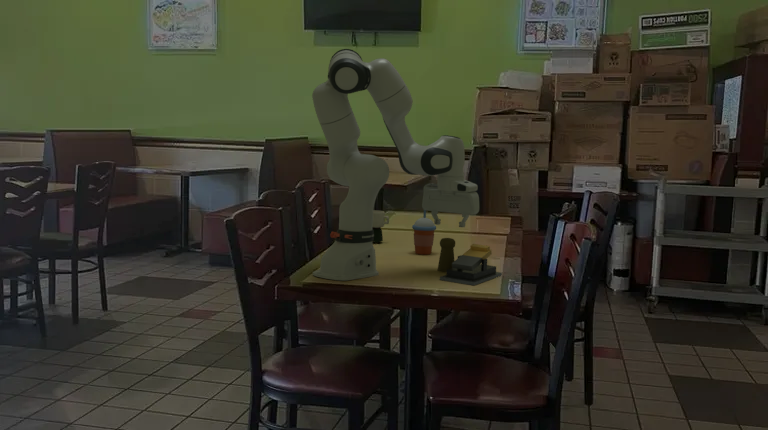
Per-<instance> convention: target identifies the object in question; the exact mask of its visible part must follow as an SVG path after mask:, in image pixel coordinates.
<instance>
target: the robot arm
mask: <svg viewBox="0 0 768 430" xmlns="http://www.w3.org/2000/svg"><path fill="white" fill-rule="evenodd" d="M365 90H367V92H368V93H369V94H370V96H371V98H372V99H373V102H374V103H375V105H376V107H377V108H378V110H379V112H380V114H381V117H382V120H383V122H384V125H385V128H386V130H387V131H388V133H389V136H390V138H391V139H392V142H393V144H394V146H395V148H396V151H397V155H398V161H399V165H400V167H401V169H402V170H403V172H405V173H407V174H408V175H411V176H412V175H421V176H431V177H433V176H437V183H431V182H428V183H426V184H425V185H424V186H423V189H422V190H423V196H422V201H421V203H422V204H421V208H422V210H423V211H424V210H426V211H429V212H431V216H432V218H433V223H434V225H435V226H436V225H438V226H440V225H441V223H442V222H441V218H439V216H438V214H439V212H440V213H441V212H442V213H451V214H459V215H460V214H461V217H462V220H461V221H459V222H458V224H459V225H458V227H459V228H465V227H466V223H467V220H468V218H469V217H470V215H472V216H474V215H477V214H478V213H479V212H480V197H479V194H478V192H477V191H478V190H479V189H478V187H479V186H478V184H477V183H474V182H472V181H469V180H467V179H465V173H464V166H465V159H466V158H465V156H466V154H465V143H464V141H463V139H462V138H461V137H458V136H453V135H446V134H445V135H441V136H440V138H438V139H437V140H436V141H434V142H432V143H430V144H428V145H421V144H419V143H417V142H416V141H415V140H414V138H413V136H412V134H411V132H410V129H409V127H408V125H407V124H406V116H407V115H408V114H409V112H410V111H411V109H412V107H413V104H414V103H413V97H412V95H411V94H412V93H411V92H410V90H409V87H408V86H407V84H406V82H405V81H404V78H403V77H402V75H401V74H400V73H399V71H398V70H397V69H396V67H395V66H394V65H393V64H392V62H391V61H389V60H388V59H386V58H384V57H383V58H376V59H373V60H371V61H369V62H366V61H363V58H362V56H361V55H360V54H359V52H357V51H355V50H353V49H351V48H344V49H339V50H337V51H336V52H334V54H333V55H332V56H331V58H330V60H329V64H328V71H327V80H326V81H325V82H322V83H320V84H318V85H317V86H315V88H314V89H313V92H312V95H311V97H312V101H313V108H314V110H315V114H316V117H317V119H318V122H319V124H320V127H321V130H322V133H323V135H324V137H325V140H326V143H327V146H328V152H329V160H328V162H327V165H326V173H327V176H328V178H329V179H330V180H331V181H333V182H334V183H336V184H338V185H341V186H343V187H348V192H347V195H346V197H345V198H344V200H343V201H342V202H341V203H340V205H339V210H338V211H339V213H338V215H339V216H338V218H339V219H338V229H337V230H336V231H331V233H330V234H329V236H330V238H332V239H333V238H334V242H333V243H332V244H331V246H330V247H329V248H328V249H327V250H326V251H325V252H324V254H323V255H322V257H321V260H320V266H319V267H320V268H319V269H317V270H315V271H312V275H313V276H314V277H318V278H321V279H327V280H333V281H334V280H335V281H341V282H342V281H343V282H344V281H352V280H357V279H364V278H365V279H366V278H370V277H376V276H379V275H380V274H379V271H378V270H377V259H376V258H377V257H376V249H375V247H374V244H373V243H374V242H372V241H373V240H374V230H373V229H372V227H373V210H375V203H376V200H377V197H378V194H379V192H380V190H381V189H382V187H384V186H385V185H386V183H387V181H388V180H389V177H390V167H389V165H388V163H387V161H386V160H384V159H383V158H381V157H379V156H376V155H374V154H368V153H367V154H364V153H361V152H360V151H359V147H358V139H360V136H361V130H360V127H359V124H358V122H357V119H356V116H355V114H354V111H353V108H352V106H351V104H350V101H349V96H348V94H354V93H358V92H362V91H365Z"/></svg>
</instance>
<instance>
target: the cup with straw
mask: <svg viewBox="0 0 768 430" xmlns="http://www.w3.org/2000/svg"><path fill="white" fill-rule="evenodd" d="M411 228H412V229H413V244H414V253H415V254H416V255H422V256H423V255H426V256H427V255H431V254H432V250H433V246H434V238H435V230H437V226H436V224H434V220H432V219H430V218H429V217H427V210H424V209H423V217H419V218H417V219H416V220H415V222H414V224H413V225H412V227H411Z"/></svg>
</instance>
